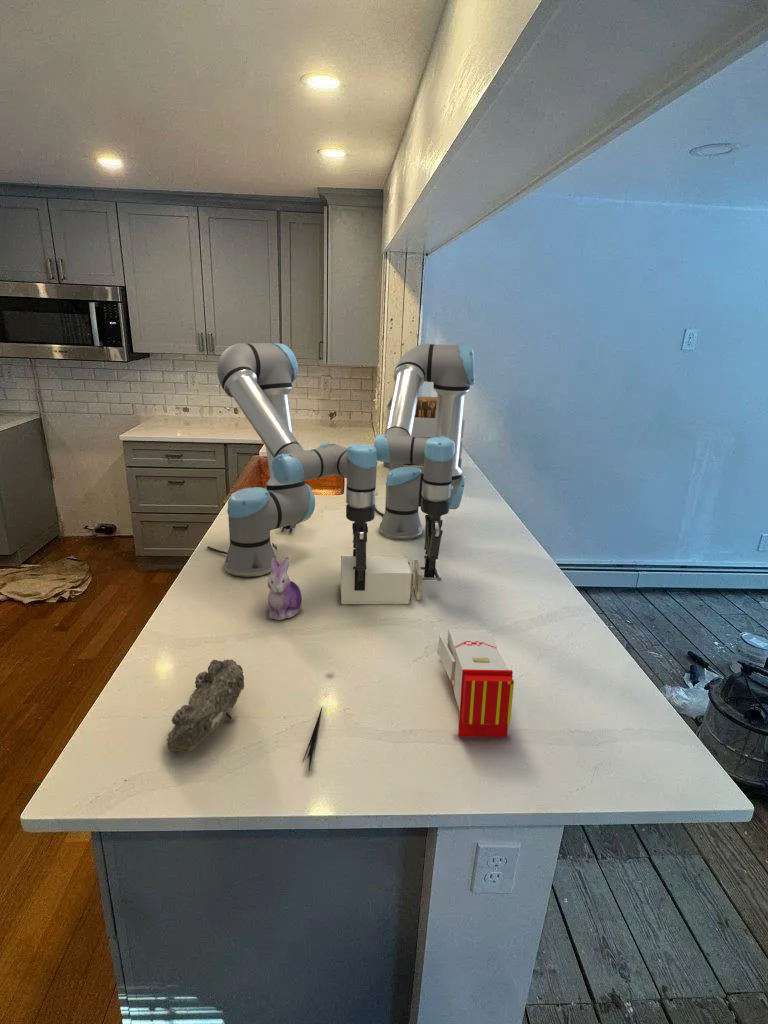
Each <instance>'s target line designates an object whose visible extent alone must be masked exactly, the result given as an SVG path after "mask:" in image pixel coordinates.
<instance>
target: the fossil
mask: <svg viewBox="0 0 768 1024" xmlns="http://www.w3.org/2000/svg"><path fill="white" fill-rule="evenodd" d="M243 670H244V669H243V667H242V665H240V664H237V662H236V661H235V660H234V659H232V658H231V659H227V658H226V659H224V660H223V661H222V660H217V659H212V660H211V661H210V663H209V665H208V666H207V671H201V672H199V673H198V674H197V675H196V676H195V680H194V684H195V685H194V687H195V689H194V690H193V693H192V694H191V697H190V698H189V700H188V704H184V705H182V706H181V707H180V709H177V710H176V711H175V713H174V715H173V716H172V718H171V723H172V724H173V727H172V730H171V731H170V732H168V734H167V738H166V741H167V742H166V745H167V749H168V750H169V751H173V752H174V753H176V754H178V753H182V752H188V751H189V752H192V751H193V750H195V748H196V747H197V746H199V744H200V743H201V742H203V741H204V740H205V739H206V738H207V737H208V736H209V735H210V734H211V733H212V732H214V730H215V729H217V727H218V726H219V724H220V722H221V721H222V720H223V719H224V718H225V716H226V717H227V719H229V720H233V717H232V715H230V714H229V710H230V709H231V708H234V706H235V704H236V703H237V702H238V699H239V697H240V695H241V693H242V691H243V690H245V689H244V688H245V675H244V671H243Z"/></svg>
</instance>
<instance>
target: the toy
mask: <svg viewBox="0 0 768 1024" xmlns="http://www.w3.org/2000/svg"><path fill="white" fill-rule="evenodd" d="M446 640H447V643H446V641H445V639H444V636H443V635H442V634H439V637H438V646H437V656H438V657H439V659H440V661H441V663H442V666H443V668H444V670H445V672H446V674H447V677H448V679H449V681H450V684H451V687H452V690H453V693H454V697H455V701H456V705H457V708H458V711H459V714H458V715H459V716H458V730H457V731H458V732H457V737H458V738H508V731H509V726H510V725H511V717H512V707H513V697H514V696H513V695H514V684H515V680H514V679H513V673H514V671H513V670H512V669H508V667H507V665H506V662H505V661H504V659H503V658H502V655H501V653H500V651H499V649H498V647H497V643H496V639H495V637H494V635H493V634H491V632H490V631H489V629H467V628H466V629H465V628H463V629H461V628H460V629H459V628H448V630H447V639H446Z"/></svg>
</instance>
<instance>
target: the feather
mask: <svg viewBox="0 0 768 1024" xmlns="http://www.w3.org/2000/svg"><path fill="white" fill-rule="evenodd" d="M329 675H330V676H331V675H332V674H331V673H330V674H329ZM322 710H323V707H321V708H320V710H319V713H318V716H317V719H316V723H315V725H314V728H313V731H312V733H311V737H310V739H309V742H308V745H307V748H306V751H305V754H304V757H303V760H302V763H301V767H302V765H303V763H304V761H305V758H308V759H309V760H308V762H307V763H308V764H307V766H308V771H310V770H311V766H312V765H311V764H312V760H313V757H315V756H314V755H315V751H316V749H315V746H317V739H318V733H319V729H320V722H321V717H322V712H323V711H322ZM313 754H314V755H313ZM306 755H307V757H306Z"/></svg>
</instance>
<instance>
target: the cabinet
mask: <svg viewBox="0 0 768 1024" xmlns="http://www.w3.org/2000/svg"><path fill="white" fill-rule="evenodd" d="M408 562H409V561H408V558H407V556H406V555H366V570H365V591H355V590H354V587H355V569H353V567H355V566H356V556H353V555H341V556H340V604H341V605H410V599H411V597H410V588H411V573H412V571H411V567H410V565H409V564H408Z"/></svg>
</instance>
